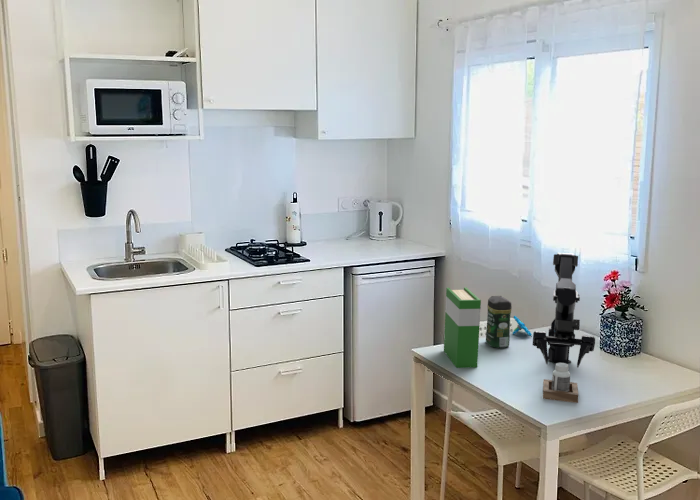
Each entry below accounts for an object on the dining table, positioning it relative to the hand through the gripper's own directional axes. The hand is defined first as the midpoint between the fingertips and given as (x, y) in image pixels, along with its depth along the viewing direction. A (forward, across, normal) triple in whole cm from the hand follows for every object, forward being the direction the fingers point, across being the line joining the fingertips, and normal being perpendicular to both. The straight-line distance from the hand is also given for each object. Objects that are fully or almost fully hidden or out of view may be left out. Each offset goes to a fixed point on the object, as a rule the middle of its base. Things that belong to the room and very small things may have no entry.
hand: (562, 365), depth 224 cm
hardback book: (-10, -34, +25) cm, 43 cm away
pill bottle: (+6, 0, +8) cm, 10 cm away
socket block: (+6, 0, +8) cm, 11 cm away
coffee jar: (-24, -22, +39) cm, 51 cm away
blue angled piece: (-36, -14, +51) cm, 63 cm away
